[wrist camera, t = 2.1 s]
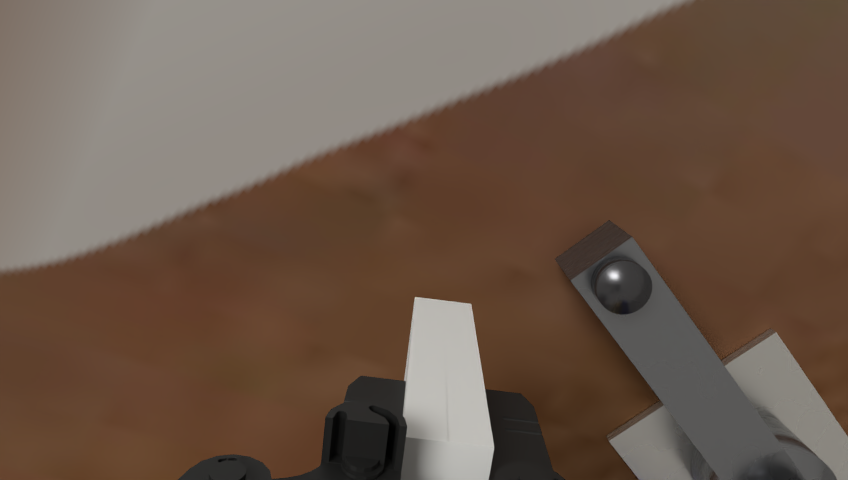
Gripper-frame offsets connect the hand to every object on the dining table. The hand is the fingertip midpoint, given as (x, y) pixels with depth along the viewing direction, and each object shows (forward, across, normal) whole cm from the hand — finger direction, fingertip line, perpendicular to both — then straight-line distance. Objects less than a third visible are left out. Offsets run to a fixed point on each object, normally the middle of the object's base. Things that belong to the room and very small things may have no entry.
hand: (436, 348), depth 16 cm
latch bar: (+8, +10, -3) cm, 13 cm away
